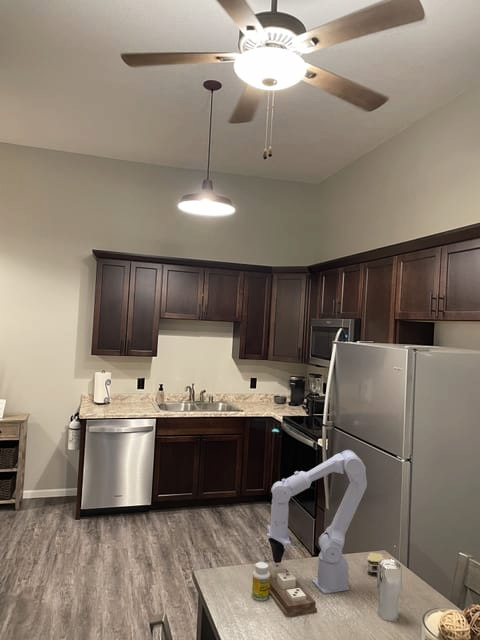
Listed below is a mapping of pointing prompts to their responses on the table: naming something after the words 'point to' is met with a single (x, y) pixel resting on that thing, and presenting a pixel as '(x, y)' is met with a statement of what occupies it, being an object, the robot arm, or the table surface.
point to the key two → (286, 581)
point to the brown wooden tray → (285, 602)
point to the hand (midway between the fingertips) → (277, 561)
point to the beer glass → (389, 588)
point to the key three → (295, 595)
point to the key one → (276, 569)
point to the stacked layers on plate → (373, 562)
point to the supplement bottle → (261, 582)
